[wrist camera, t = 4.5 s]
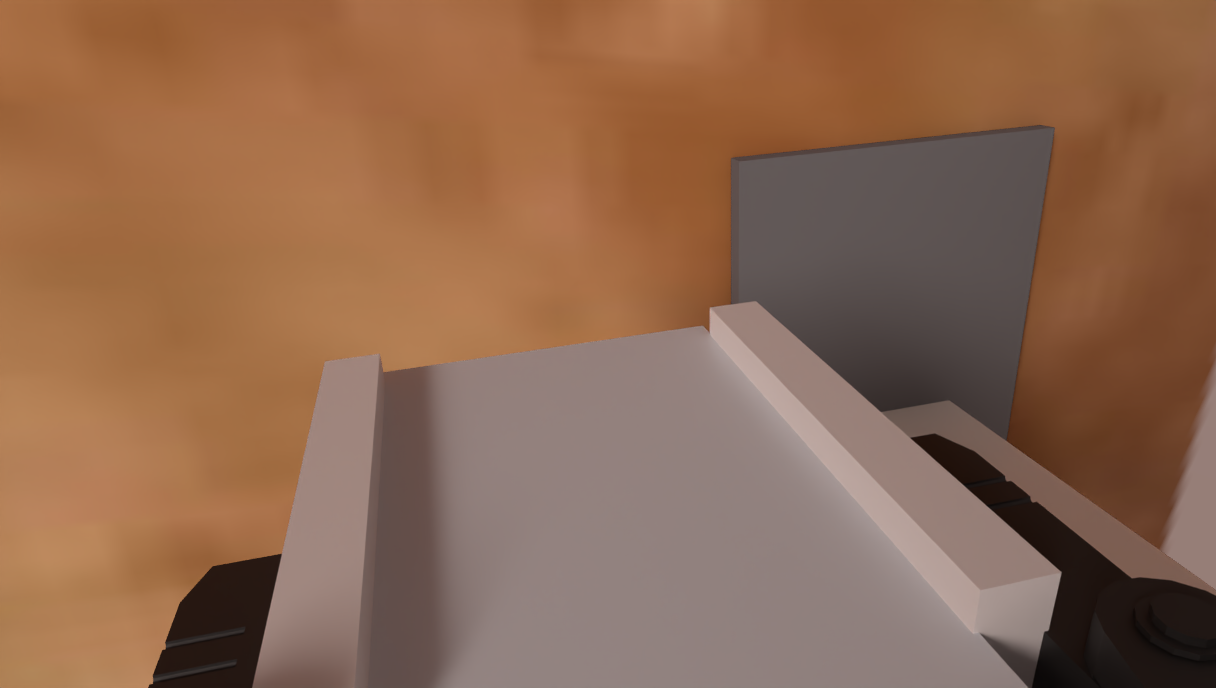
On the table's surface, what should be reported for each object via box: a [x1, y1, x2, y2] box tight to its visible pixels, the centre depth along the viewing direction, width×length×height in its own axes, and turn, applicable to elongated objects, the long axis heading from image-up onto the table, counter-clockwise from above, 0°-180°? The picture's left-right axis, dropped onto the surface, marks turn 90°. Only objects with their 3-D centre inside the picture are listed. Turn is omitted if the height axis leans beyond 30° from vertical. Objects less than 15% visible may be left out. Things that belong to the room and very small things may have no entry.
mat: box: [731, 125, 1055, 440], centre depth 30 cm, size 32×10×1 cm, turn 4°
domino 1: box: [368, 326, 1028, 688], centre depth 8 cm, size 2×5×10 cm, turn 93°
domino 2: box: [881, 400, 1216, 595], centre depth 22 cm, size 2×5×10 cm, turn 94°
